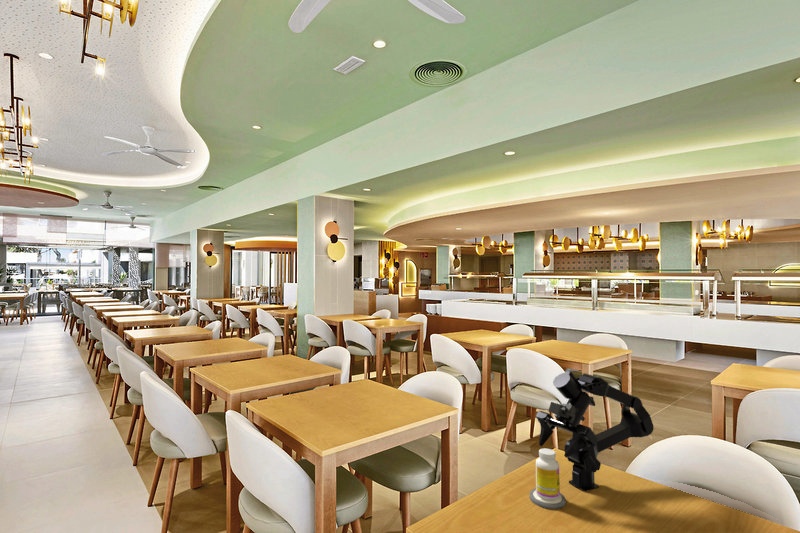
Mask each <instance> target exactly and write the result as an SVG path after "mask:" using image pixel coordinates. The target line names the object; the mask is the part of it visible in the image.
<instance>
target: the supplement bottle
mask: <svg viewBox="0 0 800 533" xmlns="http://www.w3.org/2000/svg"><path fill="white" fill-rule="evenodd" d="M538 455H539V457H538V458H536V460H535V488H536V494H537V495H538V496H539V497H540V498H542V499H545V500H557V499H558V498H559V497H560V493H561V492H560V490H561V487H560V483H561V481H560V463H559V461H558V460H557V459H556V458H557V453H556V451H555V450H553V449H551V448H544V447H543V448H540V449H539V450H538Z"/></svg>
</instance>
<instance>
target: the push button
mask: <svg viewBox="0 0 800 533" xmlns="http://www.w3.org/2000/svg"><path fill="white" fill-rule="evenodd" d="M529 500H530V501H531V502H532V504H534V505H536V506H539V507H540V508H542V509H547V510H560V509H562V508H564V507H565V506H566V504H567V503H566V496H564V495H563V494H562V493H561V492H560V497H559V498H558V499H557V500H545V499H542V498H540V497H539V496H538V495H537V494H536V487H535V488H532V489H531V490H530V492H529Z"/></svg>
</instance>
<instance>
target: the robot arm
mask: <svg viewBox="0 0 800 533" xmlns="http://www.w3.org/2000/svg"><path fill="white" fill-rule="evenodd" d="M552 385H553V386H554V387H555V388H556V390H557V391H558V393H560V394H561V395H562V396H563V397H564V399H568V401H567V402H566V403H562V404H559V403H557V402H554V401H550V404H549V407H548V411H547V412H546V411H543V410H539V411H537V413H536V415H535V418H536V420H537V421H538V423H539V424H540V434H539V441H538V445H539V447H543V445H544V444H545V443H547V441H548V440H549V438H550V437H551V436H552V434H554V431H553V430H554V429H556V428H558V429H562V430H563V431H566V432H569V433H572V437H569V440H567V441H566V442H565V445H564V454H563V455H564V458H567V461H568V462H570V463H572V470H571V479H569V480H568V483H569V484H571V485H572V486H573V487H575V488H577V489H580V491H583V492H589V491H592V490H594V489H598V488H599V487H600V486H599V484H597V483H596V482H595V473H596V472H597V471H600V469H601V465H602V463H601V461H600V460H599V459H598V455H599V453H601V452H603V451H605V450H607V449H609V448H611V447H613V446H615V445H617V444H620V443H622V442H623V441H624V442H625V441H626V440H628V439H630V438H645V437H648V436H650V435H652V434H653V431H654V429H655V426H654V424H653V419H652V417H651V414H650V412H648V410H646V407H644V405H643V402H642V400H641V399H640V398H639V397H638V396H635V395H632V394H629V393H628V392H625V391H622V390H620V389H619V388H615V387H614V386H611V385H610V384H609V382H608V381H606V380H605V379H604V378H602V377H601V376H600V377H599V376H595V375H593V374H589V373H585V372H584V373H582V374H581V375H580V376H578V377H575V376H574V374H573V373H572V371H570V370H565V371H564V372H563V373H560V374H558V375H557V376H555V377H554V379H553V381H552ZM590 394H592V395H594V396H598V397H604V398H605V397H606V398H607V399H610V400H613V401H615V402H617V403H619V404H621V405H622V409H621V416H622V417H621V419H620V422H619V423H618V424H616V425H614V426H611V427H610V428H607V429H605V430H603V431H601V432H598V433H595V432H594V431H593V430H592V428H591V427H589V426H586V425H584V424H580V423H581V422H582V421H583V422H585V420H586V418H585V417H584V415H585V413H586V412H587V410H588V408H589V407H591V406H593V407H595V406H596V402H595V400H594V397H593V396H590ZM631 409H633V411H634V412H635V413H634V412H631ZM552 414H554V417H555V418H556V419H557V420H556V419H555V418H554V417H553V416H552Z"/></svg>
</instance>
